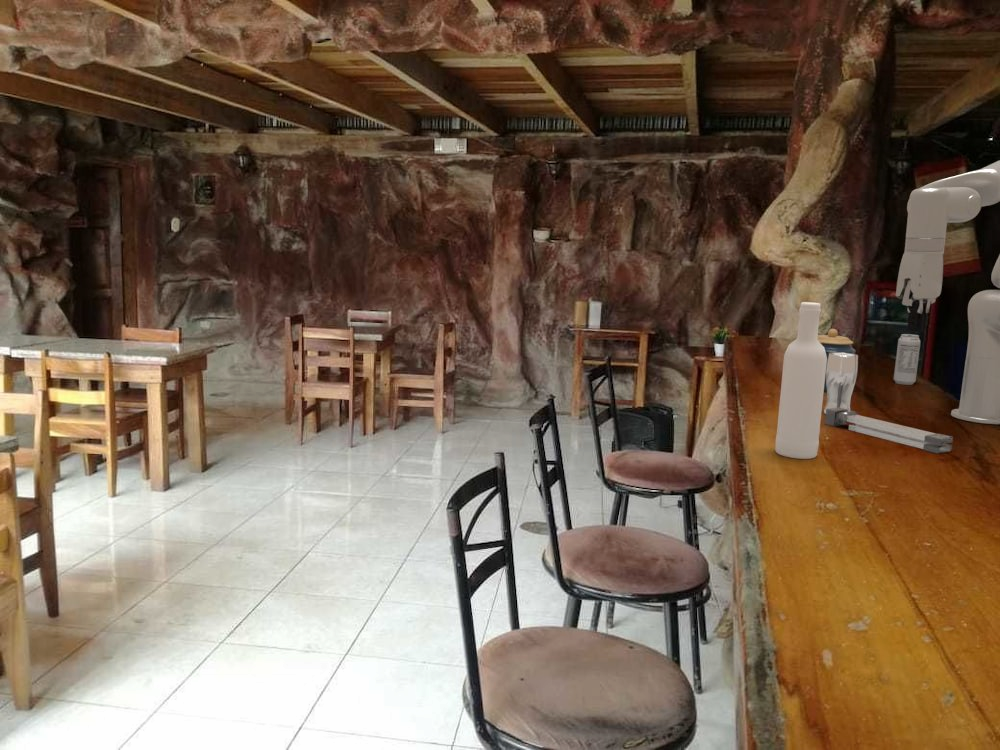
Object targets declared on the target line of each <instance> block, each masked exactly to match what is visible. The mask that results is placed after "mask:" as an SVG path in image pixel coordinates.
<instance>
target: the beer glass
mask: <svg viewBox="0 0 1000 750" xmlns="http://www.w3.org/2000/svg"><path fill="white" fill-rule="evenodd" d="M858 360H859V355H858V354H856V353H854V354H850V353H839V352H833V353H829V357H828V362H827V368H826V386H827V392H826V403H825V405H824V406H825V407H824V409H823V414H825V415H826V409H830V408H838V407H839V408H843V409H848V411H851V400H852V399H851V397H852V395H853V391H854V388H855V384H856V382H857V381H856V380H857V376H858V368H859V361H858Z"/></svg>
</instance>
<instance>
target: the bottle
mask: <svg viewBox="0 0 1000 750" xmlns="http://www.w3.org/2000/svg"><path fill="white" fill-rule="evenodd" d="M798 312H799V317H798V325H797V326H798V328H797V336H796V337H797V338H795V339H794V340H793V341H792V342H791V343H789V344H788V346H787V348H786V350H785V352H784V354H783V362H782V363H783V364H782V374H781V386H780V398H779V406H778V415H777V416H778V417H777V429H776V435H775V453H777V454H778V455H780V456H783V457H786V458H791V459H796V460H797V459H798V460H799V459H800V460H810V459H814V458H816V457H817V456H818V449H819V445H820V443H819V442H820V441H819V439H820V438H819V437H820V431H821V420H822V412H823V401H824V393H825V392H824V383H825V373H826V364H827V356H826V352H825V348H824V347H823V346H822V344H821V343H820V342H819V341H818V340H817V337H818V335H819V326H820V314H821V312H822V310H821V303H820V302H812V301H811V302H809V301H802V302H801V303H800V305H799V309H798Z"/></svg>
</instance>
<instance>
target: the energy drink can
mask: <svg viewBox="0 0 1000 750" xmlns="http://www.w3.org/2000/svg"><path fill="white" fill-rule="evenodd" d="M920 348H921V339H920V335H918V334H911V333H910V334H909V333H902V334H900V337H899V338H898V340H897V349H896V357H895V366H894V371H893V372H894V373H893V381H895V384H898V385H906V386H912V385H914V383H915V382H916V380H917V374H918V373H917V372H918V364H919V357H920Z"/></svg>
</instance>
